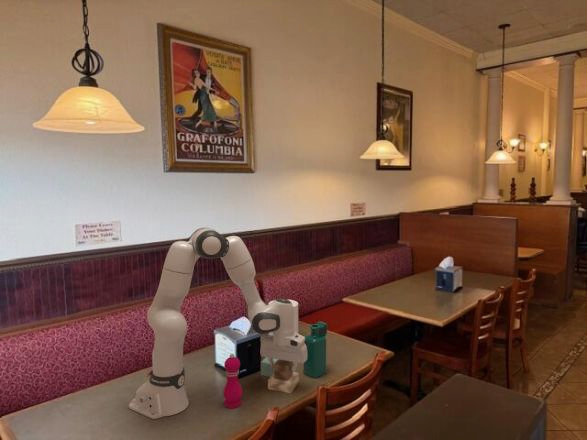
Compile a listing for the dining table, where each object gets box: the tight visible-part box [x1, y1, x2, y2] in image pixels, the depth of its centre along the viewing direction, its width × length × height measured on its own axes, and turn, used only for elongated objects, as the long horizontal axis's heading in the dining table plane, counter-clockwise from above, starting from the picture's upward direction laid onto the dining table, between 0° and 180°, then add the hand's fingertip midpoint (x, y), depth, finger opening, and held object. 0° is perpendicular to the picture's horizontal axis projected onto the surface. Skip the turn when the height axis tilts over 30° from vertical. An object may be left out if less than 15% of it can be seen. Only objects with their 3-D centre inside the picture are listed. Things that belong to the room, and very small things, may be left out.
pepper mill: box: [222, 353, 243, 409], centre depth 159 cm, size 7×7×20 cm
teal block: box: [260, 357, 279, 378], centre depth 184 cm, size 6×6×6 cm
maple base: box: [267, 371, 300, 394], centre depth 173 cm, size 10×10×4 cm
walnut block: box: [274, 360, 294, 381], centre depth 173 cm, size 6×6×6 cm
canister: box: [267, 298, 299, 336], centre depth 222 cm, size 16×16×20 cm
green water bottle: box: [302, 321, 328, 379], centre depth 184 cm, size 10×8×22 cm
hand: (283, 369), depth 173 cm, fingers open, 8 cm apart
